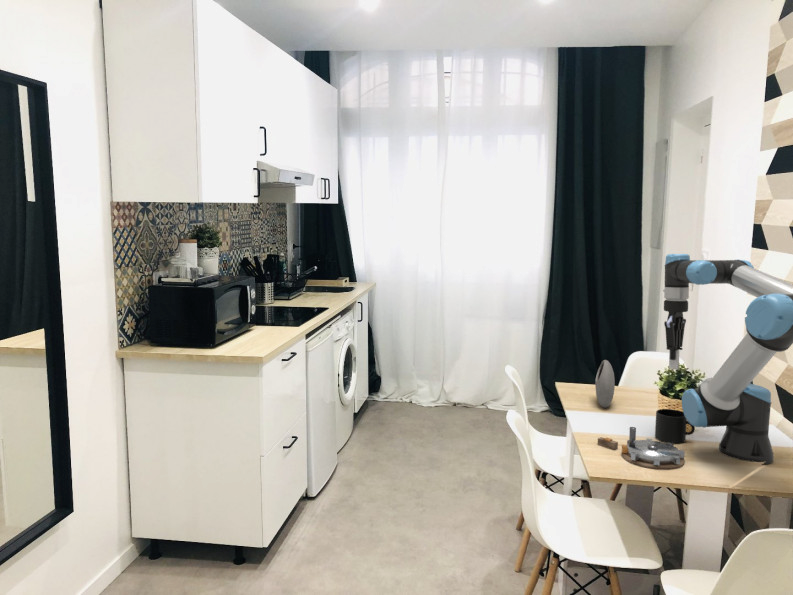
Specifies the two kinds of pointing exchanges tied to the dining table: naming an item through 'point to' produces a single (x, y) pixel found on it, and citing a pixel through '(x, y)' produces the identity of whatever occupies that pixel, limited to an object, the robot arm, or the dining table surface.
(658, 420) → the mug
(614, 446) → the rail
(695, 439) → the dining table surface
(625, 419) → the dining table surface
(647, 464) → the sprocket base
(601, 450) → the dining table surface
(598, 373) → the grey flattened round ornament
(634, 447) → the sprocket
